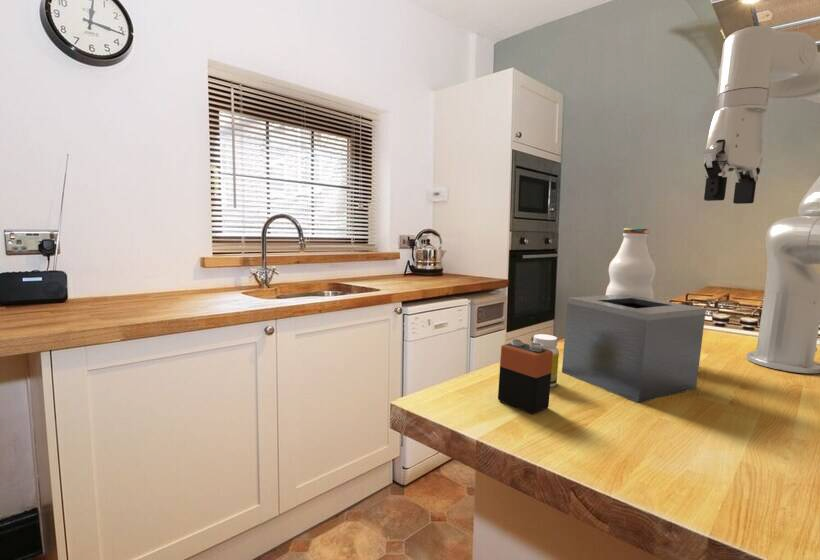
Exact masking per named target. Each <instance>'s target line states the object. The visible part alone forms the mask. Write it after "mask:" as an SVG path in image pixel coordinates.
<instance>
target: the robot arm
mask: <svg viewBox="0 0 820 560" xmlns="http://www.w3.org/2000/svg"><path fill="white" fill-rule="evenodd" d="M721 50H722V51H721V59H720V66H719V69H718V84H717V93H716V102H715V109H714V110H715V111H714V114H713V117H712V119H711V120H712V121H711V122H710V127H709V131H708V135H707V136H708V137H707V141H706V147H705V149H704V150H703V157H704V159H703V160H704V161H703V166H704V169H705V170H706V171H705V173H704V177H705V178H706V179H705V188H704V196H703V200H704V201H707V202H716V201H724V200H725V198H726V192H727V191H726V190H727V184H728V183H727V181H728V176H726V174H727V173H730V172H733V171H735V175H736V178H737V180H738V181H737V182H736V181H735V185H734V192H733V198H732V199H733V200H732V203H733V204H736V205H741V204H744V205H746V204H753V203H755V202H754V201H755V193H756V188H757V187H756V186H757V182H758V181H759V175H760V173H761V167H762V165H763V158H762V157H761V155H762V149H763V139H764V113H766V112H767V110H768V104H769V103H768V102H769V99H771V100H773V99H777V100H778V99H779V100H781V99H782V100H801V99H803V100H806V101H810V102H813V103H816V104H819V105H820V52H819V51H818V45H817V42H816V41H815V39H814V38H813V37H812V36H810V35H809V34H808V33H805V32H801V31H779V30H775V29H773V27H771V26H768V25H756V26H749V27H745V28H742V29H739V30H736V31H734V32H732V33H731V34H729V35H728V36H726V38H725V40H724V42H723V44H722V49H721ZM797 212H798V216H791V217H785V218H781V219H778V220H776V221H775V222H773V223H772V224H771V225H770V226H769V228H768V229H767V232H766V234H765V235H766V236H765V247H766V249H765V251H766V265H767V267H766V278H765V279H766V280H765V287H764V293H763V299H762V301H763V302H762V308H761V315H760V322H759V329H758V337H757V342H756V343H757V344H756V350H755V351H753V350H752V351H748V352H747V353H746V359H747V360H748V361H749V362H752V363H754V364H756V365H758V366H762V367H766V368H768V369H769V368H770V369H775V370H777V371H778V370H779V371H784V372H790V373H798V374H811V375H812V374H820V362H817V361H815V356H816V352H818V347H817V344H818V343H817V342H818V338H819V337H818V336H819V330H820V272H819V270H817V268H816V266H815V265H820V175H819V176H818V177H817V179H816V180H815V182H813V184H812V185H811V187H810V188H809V189H808V191H807V192H806V194H805V195H804V196H803V198H802V199H801V201H800V203H799V205H798V209H797Z"/></svg>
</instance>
